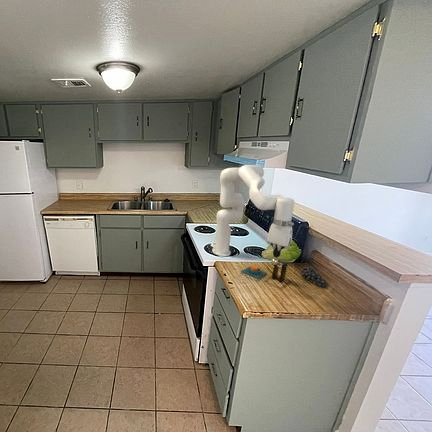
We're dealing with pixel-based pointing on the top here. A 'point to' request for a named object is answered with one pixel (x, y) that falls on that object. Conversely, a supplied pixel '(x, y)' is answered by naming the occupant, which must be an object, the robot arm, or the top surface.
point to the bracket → (283, 272)
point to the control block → (253, 272)
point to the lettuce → (283, 253)
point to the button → (254, 268)
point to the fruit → (313, 276)
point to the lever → (276, 263)
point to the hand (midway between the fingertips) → (276, 256)
